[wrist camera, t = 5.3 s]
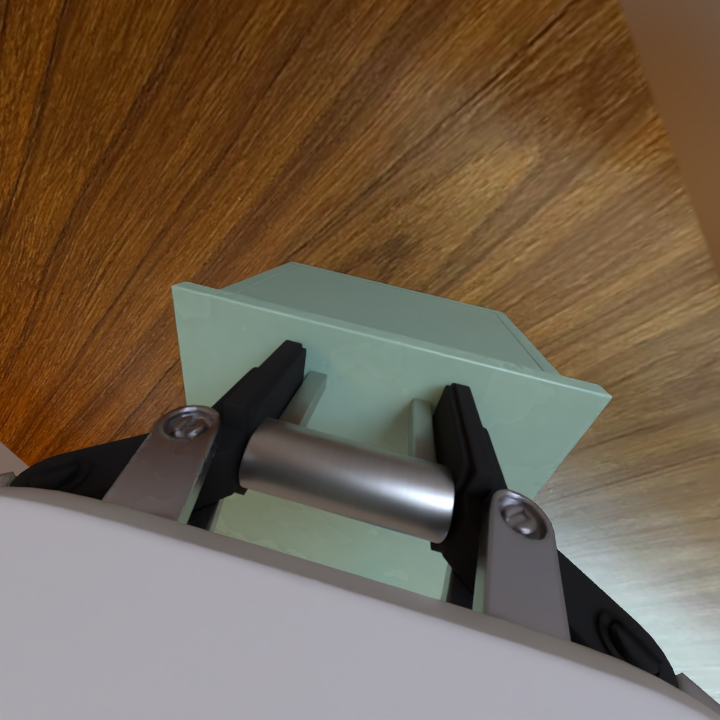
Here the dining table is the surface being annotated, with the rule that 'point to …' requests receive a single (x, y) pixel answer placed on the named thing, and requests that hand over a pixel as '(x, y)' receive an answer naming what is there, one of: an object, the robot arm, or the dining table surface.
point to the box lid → (366, 433)
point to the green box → (394, 311)
